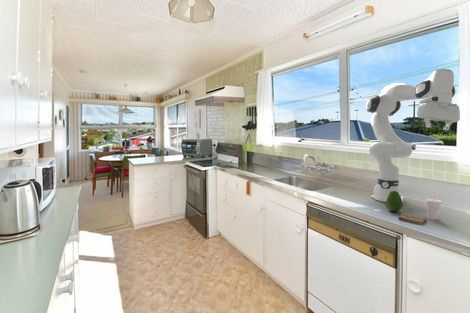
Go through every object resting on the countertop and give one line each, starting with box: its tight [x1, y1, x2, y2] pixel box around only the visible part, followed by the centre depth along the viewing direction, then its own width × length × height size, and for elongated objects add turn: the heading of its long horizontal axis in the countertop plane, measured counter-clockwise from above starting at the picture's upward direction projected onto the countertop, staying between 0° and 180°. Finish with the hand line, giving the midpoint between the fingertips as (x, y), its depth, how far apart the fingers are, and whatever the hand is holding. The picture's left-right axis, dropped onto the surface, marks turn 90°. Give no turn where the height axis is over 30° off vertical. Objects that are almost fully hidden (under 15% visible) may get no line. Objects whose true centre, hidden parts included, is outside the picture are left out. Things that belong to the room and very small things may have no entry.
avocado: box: [385, 191, 404, 213], centre depth 143 cm, size 8×8×12 cm
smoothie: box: [426, 191, 443, 220], centre depth 132 cm, size 6×6×14 cm
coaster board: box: [398, 212, 427, 226], centre depth 130 cm, size 10×10×2 cm
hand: (437, 128), depth 125 cm, fingers open, 8 cm apart
